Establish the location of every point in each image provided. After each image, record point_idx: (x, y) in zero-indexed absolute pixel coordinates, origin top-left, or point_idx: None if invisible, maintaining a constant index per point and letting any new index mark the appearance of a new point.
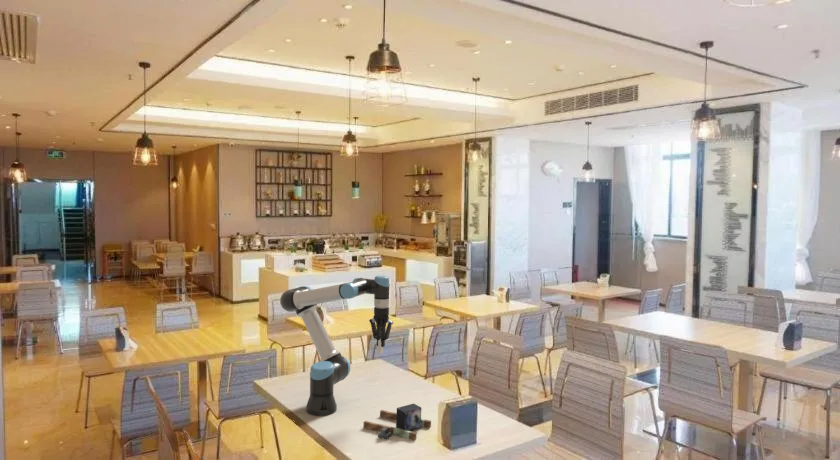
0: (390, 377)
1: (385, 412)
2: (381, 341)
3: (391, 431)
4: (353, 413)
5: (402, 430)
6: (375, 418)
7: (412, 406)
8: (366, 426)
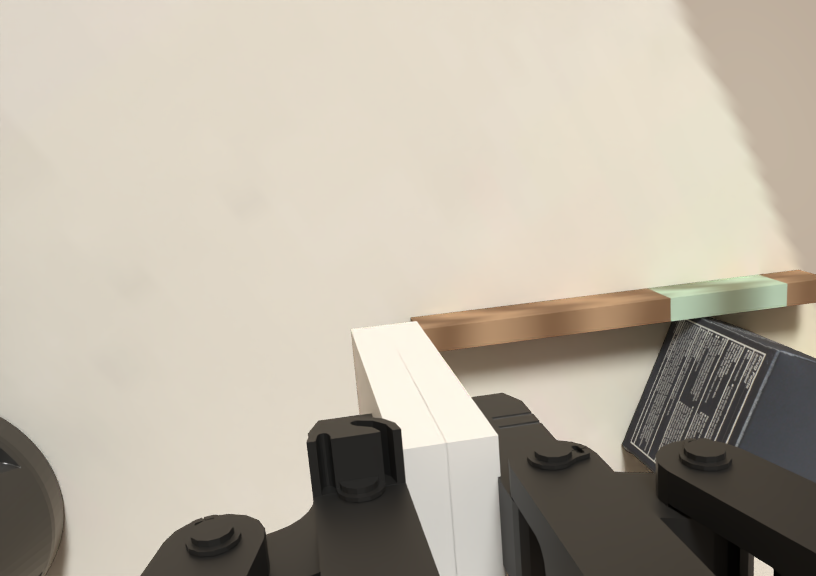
0: None
1: (469, 346)
2: (500, 550)
3: None
4: (199, 410)
5: None
6: None
7: (801, 417)
8: None
